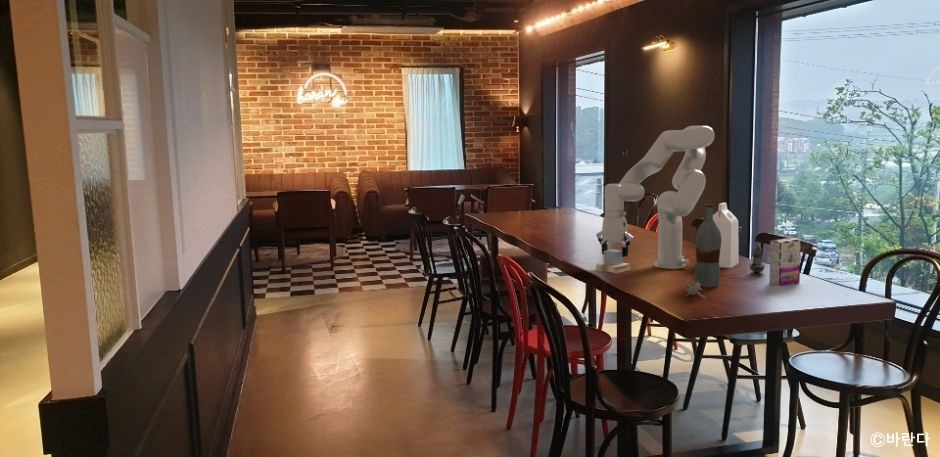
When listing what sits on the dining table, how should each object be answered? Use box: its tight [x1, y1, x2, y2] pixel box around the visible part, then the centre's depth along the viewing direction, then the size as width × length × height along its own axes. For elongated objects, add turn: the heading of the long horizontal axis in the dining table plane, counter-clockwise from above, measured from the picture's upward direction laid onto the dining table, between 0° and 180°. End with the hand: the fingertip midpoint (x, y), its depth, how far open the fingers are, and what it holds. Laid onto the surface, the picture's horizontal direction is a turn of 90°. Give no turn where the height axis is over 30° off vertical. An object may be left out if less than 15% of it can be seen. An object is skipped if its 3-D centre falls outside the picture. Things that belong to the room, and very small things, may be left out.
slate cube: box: [603, 248, 624, 266], centre depth 296 cm, size 6×6×6 cm
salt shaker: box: [748, 244, 766, 277], centre depth 282 cm, size 6×6×12 cm
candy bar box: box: [768, 237, 802, 287], centre depth 266 cm, size 11×5×16 cm, turn 117°
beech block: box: [595, 261, 632, 274], centre depth 296 cm, size 10×10×3 cm
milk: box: [713, 202, 740, 269], centre depth 303 cm, size 12×12×26 cm
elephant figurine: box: [681, 278, 707, 300], centre depth 247 cm, size 10×6×9 cm
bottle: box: [693, 203, 722, 288], centre depth 264 cm, size 9×9×30 cm
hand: (614, 255), depth 296 cm, fingers open, 9 cm apart
